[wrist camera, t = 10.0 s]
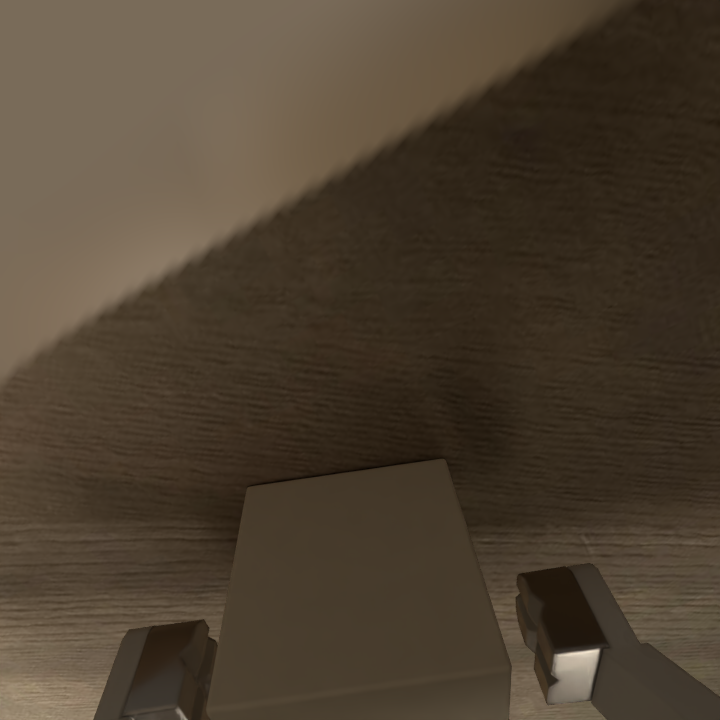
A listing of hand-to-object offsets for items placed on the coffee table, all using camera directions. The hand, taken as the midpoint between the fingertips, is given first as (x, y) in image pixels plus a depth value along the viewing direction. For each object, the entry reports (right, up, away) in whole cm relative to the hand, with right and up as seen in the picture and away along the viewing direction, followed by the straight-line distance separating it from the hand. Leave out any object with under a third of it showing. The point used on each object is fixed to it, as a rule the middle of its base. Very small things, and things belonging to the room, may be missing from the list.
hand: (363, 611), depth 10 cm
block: (0, +1, +2) cm, 2 cm away
